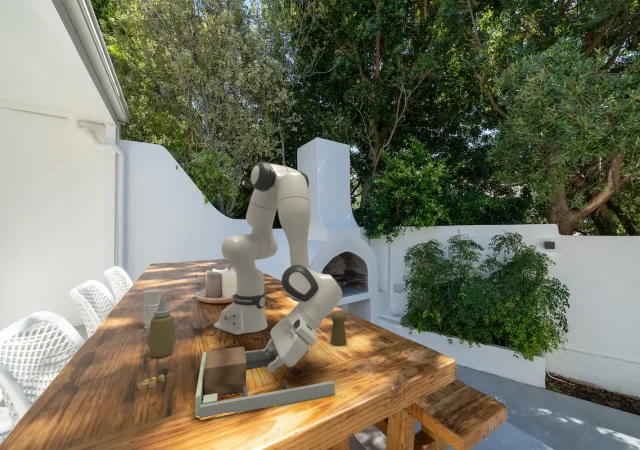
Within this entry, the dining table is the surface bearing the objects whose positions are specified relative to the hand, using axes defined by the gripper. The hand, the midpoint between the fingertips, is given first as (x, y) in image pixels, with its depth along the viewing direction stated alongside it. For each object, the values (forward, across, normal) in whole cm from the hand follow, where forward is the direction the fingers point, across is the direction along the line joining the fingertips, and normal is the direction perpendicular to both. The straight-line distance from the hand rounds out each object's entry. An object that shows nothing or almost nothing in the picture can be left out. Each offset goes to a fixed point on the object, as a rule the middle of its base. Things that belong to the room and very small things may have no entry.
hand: (266, 361), depth 79 cm
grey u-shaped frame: (+4, 0, +3) cm, 5 cm away
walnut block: (+11, 0, -4) cm, 12 cm away
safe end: (+14, 0, -7) cm, 16 cm away
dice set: (+25, -7, -17) cm, 31 cm away
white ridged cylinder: (+32, -55, -25) cm, 68 cm away
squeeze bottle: (+26, -26, -18) cm, 41 cm away
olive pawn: (-17, -17, +24) cm, 33 cm away
